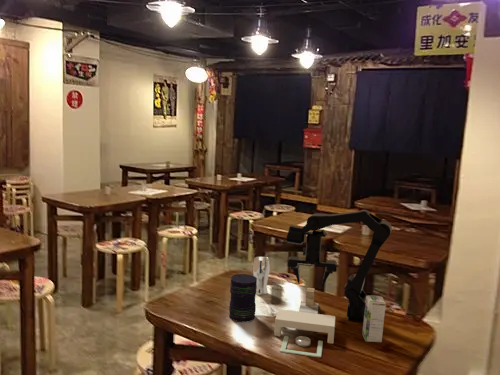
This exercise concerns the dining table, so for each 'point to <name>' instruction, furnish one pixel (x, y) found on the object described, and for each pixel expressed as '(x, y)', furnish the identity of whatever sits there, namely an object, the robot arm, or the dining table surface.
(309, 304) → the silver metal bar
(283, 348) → the frame
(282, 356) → the dining table surface
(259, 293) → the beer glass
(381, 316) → the syrup box
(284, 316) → the cream bridge block
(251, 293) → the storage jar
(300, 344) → the disc
